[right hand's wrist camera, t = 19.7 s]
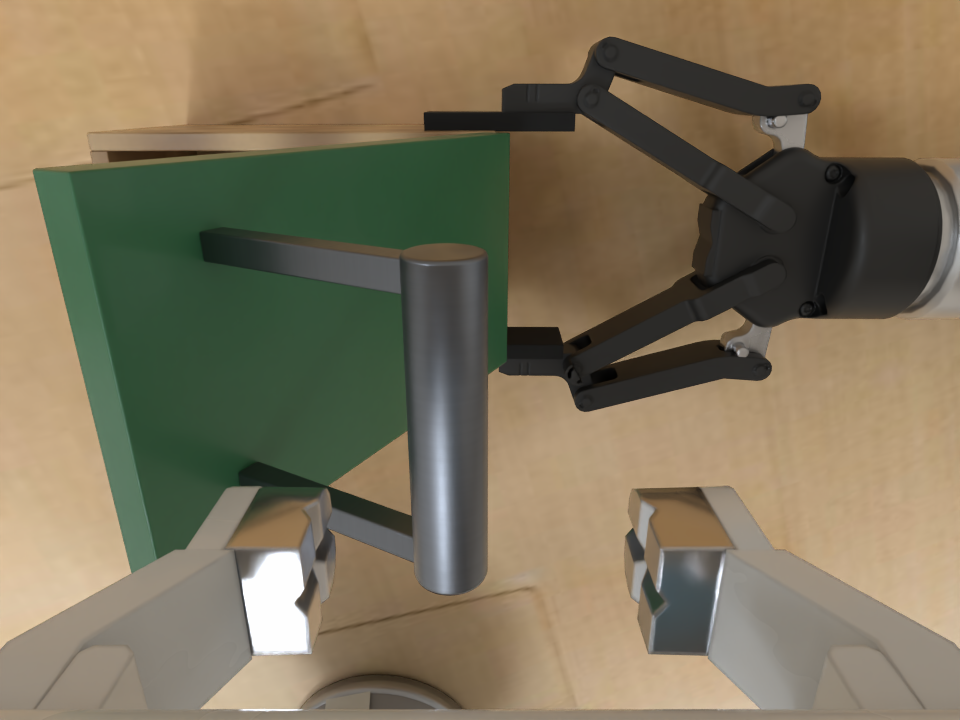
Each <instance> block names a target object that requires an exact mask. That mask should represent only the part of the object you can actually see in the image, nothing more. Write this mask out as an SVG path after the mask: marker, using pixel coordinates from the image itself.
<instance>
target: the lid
mask: <svg viewBox="0 0 960 720" xmlns="http://www.w3.org/2000/svg"><path fill="white" fill-rule="evenodd" d="M509 158H510V133H493V132H481V133H469V134H456V135H444V136H432V137H419V138H407V139H394V140H382V141H370V142H357V143H345V144H333V145H320V146H308V147H295V148H283V149H271V150H258V151H246V152H234V153H221V154H209V155H197V156H184V157H172V158H159V159H147V160H135V161H122V162H110V163H98V164H85V165H73V166H60V167H48V168H36V169H34V170H33V174H34V178H35V183H36V187H37V191H38V195H39V199H40V203H41V207H42V211H43V215H44V219H45V223H46V227H47V231H48V235H49V239H50V244H51V248H52V252H53V256H54V260H55V264H56V268H57V272H58V276H59V280H60V284H61V288H62V292H63V296H64V300H65V305H66V309H67V313H68V317H69V321H70V325H71V329H72V333H73V337H74V341H75V345H76V349H77V353H78V357H79V361H80V365H81V370H82V374H83V378H84V382H85V386H86V390H87V394H88V398H89V402H90V406H91V410H92V414H93V418H94V422H95V426H96V431H97V435H98V439H99V443H100V447H101V451H102V455H103V459H104V463H105V467H106V471H107V475H108V479H109V483H110V487H111V492H112V496H113V500H114V504H115V508H116V512H117V516H118V520H119V524H120V528H121V532H122V536H123V540H124V544H125V548H126V553H127V557H128V561H129V565H130V569H131V573H134V572H135V571H137V570H139V569H141V568H143V567H145V566H146V565H148V564H150V563H152V562H154V561H155V560H157V559H159V558H161V557H163V556H165V555H166V554H168V553H170V552H172V551H174V550H185V549H186V548H187V546H188V545H189V543H190V542H191V540H192V539H193V537H194V536H195V534H196V533H197V531H198V530H199V528H200V527H201V525H202V524H203V522H204V521H205V519H206V518H207V516H208V515H209V513H210V512H211V510H212V509H213V507H214V506H215V504H216V503H217V501H218V500H219V498H220V497H221V495H222V494H223V492H224V491H225V490H226V489H227V488H229V487H232V486H261V487H315V488H327V489H328V491H329V493H330V499H331V507H332V514H331V517H330V519H329V522H328V525H327V528H328V529H330V530H333V531H335V532H338V533H340V534H343V535H345V536H348V537H351V538H353V539H356V540H358V541H361V542H363V543H366V544H368V545H371V546H373V547H376V548H378V549H381V550H383V551H386V552H388V553H391V554H393V555H396V556H398V557H401V558H403V559H406V560H409V561H411V562H414V572H415V576H416V579H417V580H418V582H419V583H420V585H421V586H422V587H424V588H425V589H427V590H428V591H430V592H433V593H436V594H440V595H459V594H464V593H467V592H469V591H471V590H473V589H475V588H476V587H478V586H479V585H480V584H481V583H482V581H483V580H484V578H485V576H486V574H487V557H488V374H490V373H491V372H492V371H494V370H495V369H497V368H498V367H500V366H501V365H503V364H504V363H505V362H506V361H507V303H508V231H509ZM406 431H408V450H409V470H410V491H411V511H412V516H410V515H407V514H404V513H401V512H399V511H396V510H393V509H390V508H387V507H385V506H382V505H379V504H376V503H373V502H371V501H368V500H365V499H362V498H359V497H357V496H354V495H351V494H348V493H345V492H343V491H340V490H337V489H334V488H331V487H329V485H330V484H331V483H333V482H334V481H336V480H337V479H339V478H340V477H341V476H343V475H344V474H346V473H347V472H349V471H350V470H352V469H353V468H354V467H356V466H357V465H359V464H360V463H362V462H363V461H365V460H366V459H367V458H369V457H370V456H372V455H373V454H375V453H376V452H377V451H379V450H380V449H382V448H383V447H385V446H386V445H388V444H389V443H390V442H392V441H393V440H395V439H396V438H398V437H399V436H400V435H402V434H403V433H405V432H406Z"/></svg>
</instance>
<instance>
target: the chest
mask: <svg viewBox="0 0 960 720" xmlns="http://www.w3.org/2000/svg"><path fill="white" fill-rule="evenodd" d="M481 132H493V133H496V131H424V124H328V125H177V126H164V127H152V128H139V129H126V130H113V131H101V132H89V133H87V137H88V142H89V147H90V150H91V152H90V153H91V158H92V163H93V164H98V163H110V162H122V161H135V160H147V159H159V158H172V157H184V156H197V155H209V154H221V153H234V152H246V151H258V150H271V149H283V148H295V147H308V146H320V145H333V144H345V143H357V142H370V141H382V140H394V139H407V138H419V137H432V136H444V135H456V134H469V133H481Z"/></svg>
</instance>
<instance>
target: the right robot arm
mask: <svg viewBox="0 0 960 720" xmlns="http://www.w3.org/2000/svg"><path fill="white" fill-rule="evenodd" d="M331 514H332V507H331V499H330V493H329V491H328V489H327V488H315V487H261V486H232V487H229V488H227V489H226V490H225V491H224V492H223V494H222V495H221V497H220V498H219V500H218V501H217V503H216V504H215V506H214V507H213V509H212V510H211V512H210V513H209V515H208V516H207V518H206V519H205V521H204V522H203V524H202V525H201V527H200V528H199V530H198V531H197V533H196V534H195V536H194V537H193V539H192V540H191V542H190V543H189V545H188V546H187V548H186V549H185V550H174V551H172V552H170V553H168V554H166V555H165V556H163V557H161V558H159V559H157V560H155V561H154V562H152V563H150V564H148V565H146V566H145V567H143V568H141V569H139V570H137V571H135V572H134V573H132V574H130V575H128V576H126V577H125V578H123V579H121V580H119V581H117V582H115V583H114V584H112V585H110V586H108V587H106V588H105V589H103V590H101V591H99V592H97V593H95V594H94V595H92V596H90V597H88V598H86V599H85V600H83V601H81V602H79V603H77V604H75V605H74V606H72V607H70V608H68V609H66V610H65V611H63V612H61V613H59V614H57V615H55V616H54V617H52V618H50V619H48V620H46V621H45V622H43V623H41V624H39V625H37V626H35V627H34V628H32V629H30V630H28V631H26V632H24V633H23V634H21V635H19V636H17V637H15V638H14V639H12V640H10V641H8V642H7V643H6V644H5V645H4V646H3V647H2V648H1V650H0V720H960V649H959V648H958V647H957V646H956V645H955V643H953V642H951V641H949V640H948V639H946V638H944V637H942V636H940V635H939V634H937V633H935V632H933V631H931V630H930V629H928V628H926V627H924V626H922V625H920V624H919V623H917V622H915V621H913V620H911V619H910V618H908V617H906V616H904V615H902V614H901V613H899V612H897V611H895V610H893V609H891V608H890V607H888V606H886V605H884V604H882V603H881V602H879V601H877V600H875V599H873V598H872V597H870V596H868V595H866V594H864V593H862V592H861V591H859V590H857V589H855V588H853V587H852V586H850V585H848V584H846V583H844V582H843V581H841V580H839V579H837V578H835V577H833V576H832V575H830V574H828V573H826V572H824V571H823V570H821V569H819V568H817V567H815V566H814V565H812V564H810V563H808V562H806V561H804V560H803V559H801V558H799V557H797V556H795V555H794V554H792V553H790V552H788V551H786V550H775V549H774V548H773V546H772V545H771V543H770V542H769V540H768V539H767V537H766V536H765V534H764V533H763V531H762V530H761V528H760V527H759V525H758V524H757V523H756V521H755V520H754V518H753V517H752V515H751V514H750V512H749V511H748V509H747V508H746V506H745V505H744V503H743V502H742V500H741V499H740V497H739V496H738V494H737V493H736V491H735V490H734V489H733V488H731V487H729V486H710V487H685V488H645V489H632V490H631V494H630V498H629V506H628V514H629V517H630V519H631V522H632V525H633V528H632V529H631V531H630V532H629V533H628V534H627V535H626V536H625V550H624V561H625V575H626V581H627V586H628V589H629V593H630V596H631V598H632V599H633V600H635V601H636V602H637V603H638V604H639V609H638V623H639V626H640V629H641V632H642V635H643V638H644V642H645V645H646V648H647V651H648V654H664V655H700V656H708V659H709V660H710V661H711V662H712V663H713V664H714V665H715V666H716V667H717V668H718V669H719V670H720V671H721V672H723V673H724V674H725V675H726V676H727V677H728V678H729V679H730V680H731V681H732V682H733V683H734V684H735V685H736V686H737V687H738V688H739V689H740V690H741V691H742V692H743V693H744V694H745V695H746V696H748V697H749V698H750V699H751V700H752V701H753V702H754V703H755V704H756V705H757V706H758V707H759V708H760V709H200V708H201V707H202V706H203V705H204V704H205V703H206V702H208V701H209V700H210V699H211V698H212V697H213V696H214V695H215V694H216V693H217V692H218V691H219V690H220V689H221V688H222V687H223V686H224V685H225V684H226V683H227V682H228V681H229V680H231V679H232V678H233V677H234V676H235V675H236V674H237V673H238V672H239V671H240V670H241V669H242V668H243V667H244V666H245V665H246V664H247V663H248V662H249V661H250V660H251V659H252V656H259V655H294V654H312V651H313V648H314V645H315V642H316V639H317V635H318V632H319V629H320V626H321V623H322V609H321V603H323V602H324V601H325V600H327V599H328V598H329V596H330V593H331V589H332V586H333V581H334V573H335V566H336V547H335V536H334V535H333V534H332V533H331V532H330V531H329V529H328V528H327V525H328V522H329V519H330V517H331Z"/></svg>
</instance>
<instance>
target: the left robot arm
mask: <svg viewBox="0 0 960 720" xmlns="http://www.w3.org/2000/svg"><path fill="white" fill-rule="evenodd" d="M614 76H616V77H619V78H622V79H626V80H629V81H632V82H635V83H638V84H641V85H644V86H647V87H651V88H654V89H657V90H660V91H663V92H666V93H669V94H673V95H676V96H679V97H682V98H685V99H688V100H691V101H694V102H698V103H701V104H704V105H707V106H710V107H713V108H716V109H720V110H723V111H726V112H730V113H734V114H740V115H751V116H753V119H752V123H753V127H754V129H755V130H756V131H757V132H758V133H761V134H766V135H768V136H770V137H771V139H772V140H773V143H774V149H772V150H770V151H768V152H767V153H765V154H764V155H762V156H761V157H760V158H758V159H757V160H755V161H754V162H752V163H751V164H749V165H748V166H746V167H745V168H743V169H742V170H740V171H739V172H737V173H736V172H735V171H733V170H732V169H730V168H728V167H727V166H725V165H723V164H721V163H719V162H717V161H716V160H714V159H712V158H711V157H709V156H708V155H706V154H705V153H703V152H701V151H700V150H698V149H697V148H695V147H694V146H692V145H691V144H689V143H687V142H686V141H684V140H683V139H681V138H680V137H678V136H677V135H675V134H673V133H672V132H670V131H669V130H667V129H666V128H664V127H663V126H661V125H659V124H658V123H656V122H655V121H653V120H652V119H650V118H648V117H647V116H645V115H644V114H642V113H641V112H639V111H638V110H636V109H634V108H633V107H631V106H630V105H628V104H627V103H625V102H624V101H622V100H620V99H619V98H617V97H616V96H614V95H613V94H611V93H610V92H608V90H609V87H610V85H611V82H612V80H613V77H614ZM820 100H821V92H820V90H819V89H818V87H816V86H815V85H812V84H797V85H780V86H764V85H761V84H758V83H755V82H751V81H748V80H745V79H742V78H739V77H736V76H733V75H730V74H727V73H724V72H721V71H718V70H714V69H711V68H708V67H705V66H702V65H699V64H696V63H693V62H690V61H687V60H684V59H681V58H678V57H674V56H671V55H668V54H665V53H662V52H659V51H656V50H653V49H650V48H647V47H644V46H641V45H638V44H634V43H631V42H628V41H625V40H622V39H619V38H616V37H607V38H604V39H602V40H601V41H599V42H597V43H595V44H594V45H593V46H592V47H591V48H590V50H589V52H588V58H587V60H586V63H585V66H584V68H583V71H582V73H581V75H580V76H579V78H578V79H577V80H576V81H574V82H573V83H570V84H513V85H510V86H508V87H506V88H503V89H502V112H424V131H575V114H582V115H584V116H585V117H587V118H588V119H590V120H592V121H593V122H595V123H596V124H598V125H599V126H601V127H603V128H604V129H606V130H607V131H609V132H611V133H612V134H614V135H615V136H617V137H619V138H620V139H622V140H623V141H625V142H626V143H628V144H630V145H631V146H633V147H634V148H636V149H638V150H639V151H641V152H642V153H644V154H645V155H647V156H649V157H650V158H652V159H653V160H655V161H657V162H658V163H660V164H661V165H663V166H665V167H666V168H668V169H669V170H671V171H672V172H674V173H676V174H677V175H679V176H680V177H682V178H684V179H685V180H686V181H688V182H689V183H691V184H692V185H694V186H695V187H697V188H698V189H700V190H702V191H703V192H705V193H706V194H708V196H707V197H706V199H705V201H704V203H703V204H699V212H698V225H699V232H700V236H699V239H698V242H697V244H696V247H695V249H694V253H693V261H692V267H693V268H695V270H696V271H695V272H693V273H691V274H689V275H687V276H685V277H683V278H681V279H679V280H678V281H676V282H675V284H674V285H673V286H672V287H671V288H669V289H667V290H665V291H663V292H661V293H659V294H657V295H656V296H654V297H652V298H650V299H648V300H646V301H644V302H642V303H640V304H638V305H636V306H634V307H632V308H630V309H628V310H626V311H624V312H623V313H621V314H619V315H617V316H615V317H613V318H611V319H609V320H607V321H605V322H603V323H601V324H599V325H597V326H595V327H593V328H592V329H590V330H588V331H586V332H584V333H582V334H580V335H578V336H576V337H574V338H572V339H570V340H568V341H566V342H565V343H563V342H562V338H561V335H560V332H559V328H558V327H507V361H506V362H505V363H504V364H503V365H501V366H500V367H499V372H501V373H504V374H506V375H532V376H559V377H562V378H563V379H565V380H566V381H567V383H568V385H569V388H570V391H571V393H572V396H573V399H574V403H575V405H576V407H577V408H578V409H579V410H580V411H584V412H589V411H593V410H597V409H601V408H605V407H609V406H613V405H617V404H621V403H625V402H630V401H634V400H638V399H642V398H646V397H650V396H654V395H658V394H662V393H666V392H670V391H674V390H678V389H682V388H686V387H691V386H695V385H699V384H703V383H707V382H711V381H715V380H719V379H723V378H726V379H740V380H754V381H759V380H763V379H765V378H767V377H768V376H769V375H770V373H771V371H772V365H771V363H770V362H769V361H768V360H767V359H766V358H765V354H766V350H767V346H768V342H769V338H770V334H771V330H772V327H775V326H778V325H780V324H782V323H784V322H786V321H788V320H792V319H796V318H814V319H886V318H890V317H893V316H895V317H897V318H901V319H908V320H912V319H960V158H921V159H918V160H915V161H912V160H910V159H906V158H824V157H818V156H816V155H814V154H812V153H811V152H809V151H808V150H806V149H804V144H805V134H806V125H807V116H808V113H811V112H812V111H814V110H815V109H816V108H817V107H818V105H819V103H820ZM730 308H733V309H734V310H735V311H737V312H738V313H739V314H740V315H742V316H743V317H744V318H746V321H745V323H744V325H743V326H742V327H741V328H739V329H737V330H733V331H729V332H725V333H723V334H722V336H721V340H707V341H701V342H696V343H692V344H688V345H684V346H680V347H676V348H672V349H668V350H664V351H660V352H657V353H653V354H649V355H645V356H641V357H637V358H633V359H629V360H625V361H621V362H617V363H613V362H615V361H617V360H619V359H621V358H623V357H625V356H627V355H629V354H631V353H633V352H635V351H637V350H639V349H641V348H643V347H645V346H647V345H649V344H651V343H653V342H655V341H657V340H659V339H661V338H663V337H665V336H667V335H669V334H671V333H673V332H675V331H677V330H678V329H680V328H682V327H684V326H686V325H688V324H690V323H693V322H695V321H705V320H708V319H710V318H712V317H714V316H716V315H718V314H720V313H722V312H724V311H726V310H728V309H730ZM611 363H613V364H611ZM301 709H462V708H461V707H460V706H459V705H458V704H457V703H456V702H455V701H453V700H452V699H451V698H450V697H448V696H447V695H445V694H444V693H442V692H441V691H439V690H437V689H435V688H433V687H431V686H429V685H427V684H424V683H421V682H419V681H415V680H412V679H408V678H403V677H398V676H390V675H366V676H358V677H353V678H348V679H345V680H341V681H338V682H336V683H333V684H331V685H329V686H327V687H325V688H323V689H321V690H320V691H318V692H317V693H315V694H314V695H313V696H312V697H310V698H309V699H308V700H307V701H306V702H305V703H304V705H303V706H302V707H301Z"/></svg>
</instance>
